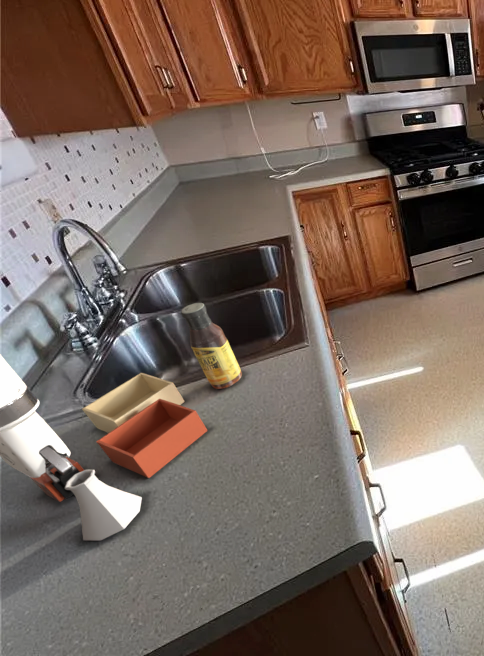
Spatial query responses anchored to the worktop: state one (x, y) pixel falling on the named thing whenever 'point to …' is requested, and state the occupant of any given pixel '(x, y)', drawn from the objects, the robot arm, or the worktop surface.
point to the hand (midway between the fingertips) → (67, 485)
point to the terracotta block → (45, 481)
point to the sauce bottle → (211, 348)
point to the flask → (102, 506)
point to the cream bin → (130, 401)
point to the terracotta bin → (152, 437)
